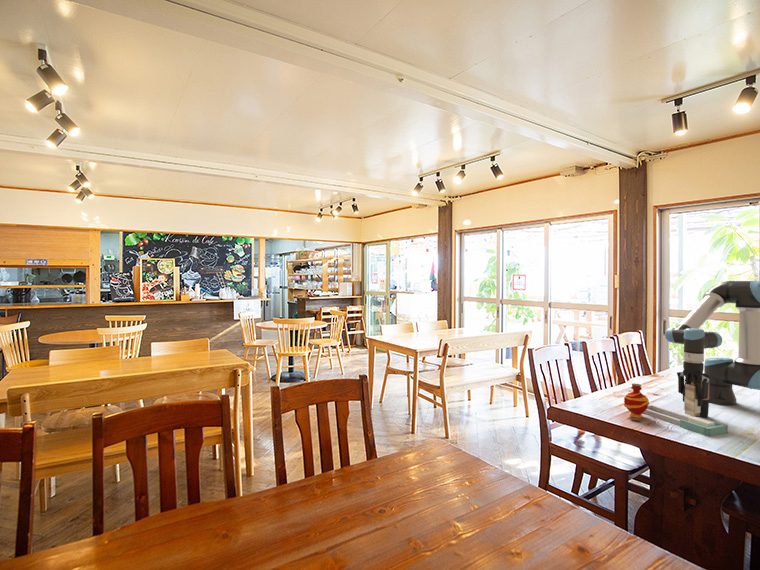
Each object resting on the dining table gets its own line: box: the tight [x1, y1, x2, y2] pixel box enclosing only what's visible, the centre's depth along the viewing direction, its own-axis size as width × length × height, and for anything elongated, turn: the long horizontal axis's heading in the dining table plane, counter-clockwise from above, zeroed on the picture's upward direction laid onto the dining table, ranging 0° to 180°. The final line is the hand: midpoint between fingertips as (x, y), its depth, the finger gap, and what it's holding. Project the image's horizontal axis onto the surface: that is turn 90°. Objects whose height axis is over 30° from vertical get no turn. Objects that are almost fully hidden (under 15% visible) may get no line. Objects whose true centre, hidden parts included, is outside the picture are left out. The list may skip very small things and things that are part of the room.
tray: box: [679, 417, 729, 437], centre depth 174 cm, size 12×12×3 cm
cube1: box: [688, 416, 705, 425], centre depth 177 cm, size 4×4×4 cm
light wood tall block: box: [684, 383, 700, 417], centre depth 188 cm, size 4×4×14 cm
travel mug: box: [691, 372, 710, 419], centre depth 192 cm, size 8×8×20 cm
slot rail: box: [643, 403, 690, 426], centre depth 190 cm, size 10×22×2 cm, turn 18°
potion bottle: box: [623, 383, 650, 419], centre depth 191 cm, size 10×10×15 cm
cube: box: [698, 418, 715, 427], centre depth 173 cm, size 4×4×4 cm
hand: (692, 411), depth 188 cm, fingers closed on light wood tall block, 4 cm apart
